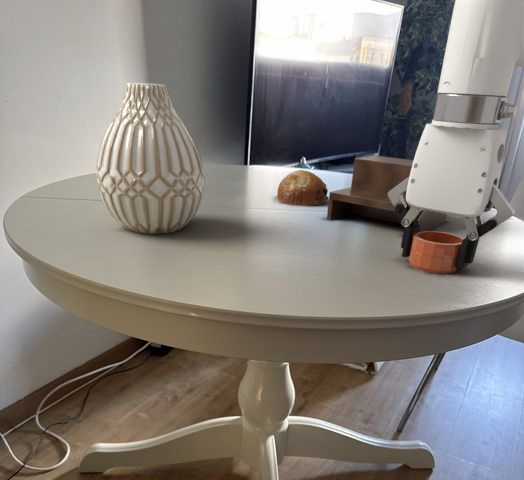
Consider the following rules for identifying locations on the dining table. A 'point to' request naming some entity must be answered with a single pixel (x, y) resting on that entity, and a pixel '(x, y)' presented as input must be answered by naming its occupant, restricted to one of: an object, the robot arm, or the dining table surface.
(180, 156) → the vase
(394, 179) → the shelf
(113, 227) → the dining table surface
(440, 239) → the bowl
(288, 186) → the bread roll
